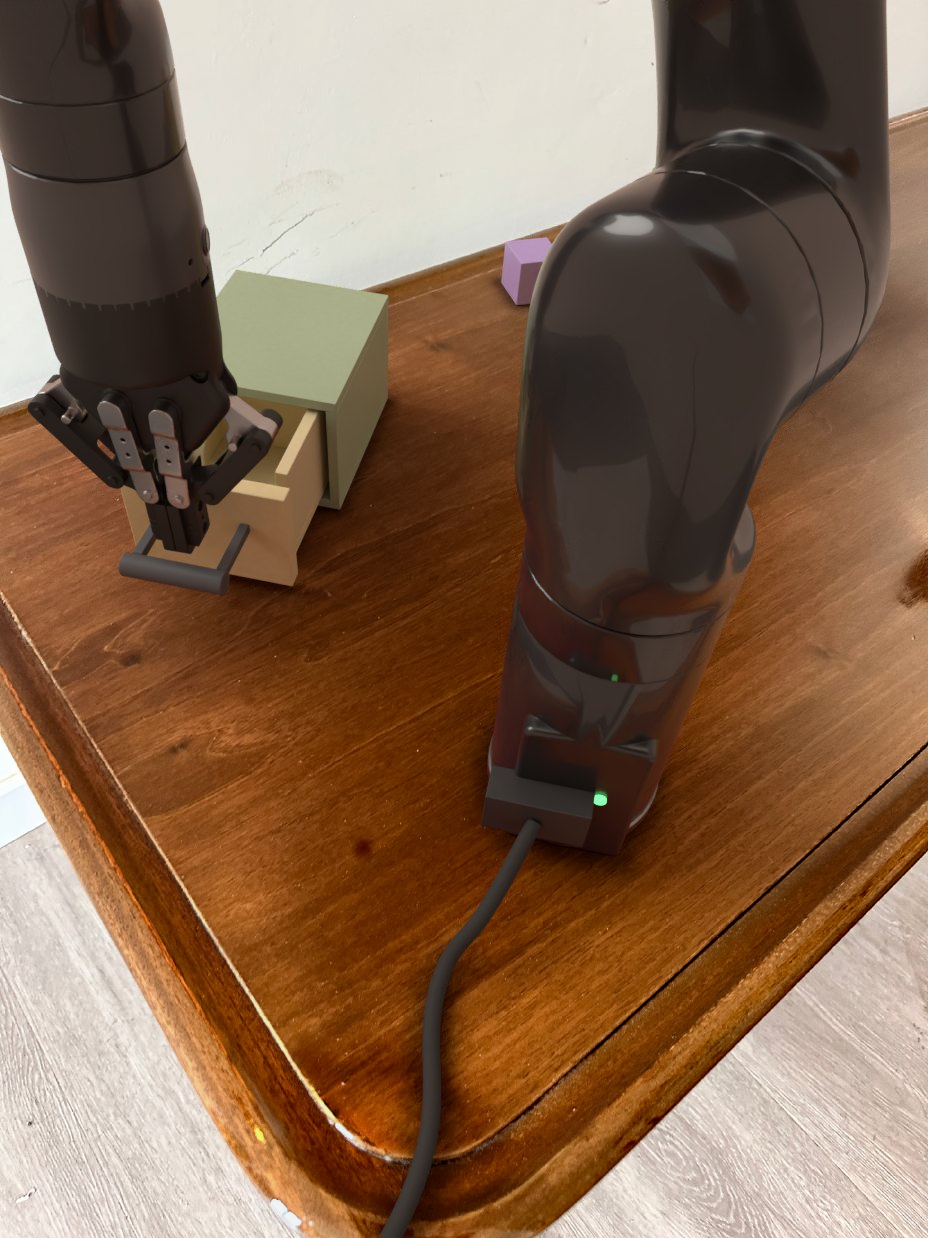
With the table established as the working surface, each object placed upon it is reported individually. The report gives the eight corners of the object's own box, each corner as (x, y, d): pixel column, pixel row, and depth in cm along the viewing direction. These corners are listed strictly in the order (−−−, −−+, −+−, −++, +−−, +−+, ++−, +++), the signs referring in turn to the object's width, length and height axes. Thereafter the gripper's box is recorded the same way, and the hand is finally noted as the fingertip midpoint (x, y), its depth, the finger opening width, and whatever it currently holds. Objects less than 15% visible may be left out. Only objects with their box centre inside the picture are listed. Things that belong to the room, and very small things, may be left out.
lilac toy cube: (557, 300, 86) (563, 258, 83) (516, 305, 85) (521, 263, 82) (541, 277, 88) (546, 236, 85) (500, 282, 87) (505, 241, 84)
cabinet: (340, 510, 66) (335, 404, 59) (183, 480, 67) (161, 373, 60) (388, 398, 74) (388, 294, 68) (248, 373, 75) (235, 269, 69)
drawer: (264, 650, 56) (252, 565, 51) (101, 617, 57) (71, 530, 51) (347, 463, 68) (344, 378, 62) (210, 438, 68) (195, 352, 63)
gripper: (-73, 272, 39) (43, 568, 52) (237, 320, 38) (277, 610, 51) (17, 193, 44) (102, 482, 57) (293, 233, 43) (316, 518, 56)
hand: (185, 542), depth 54 cm, fingers closed
